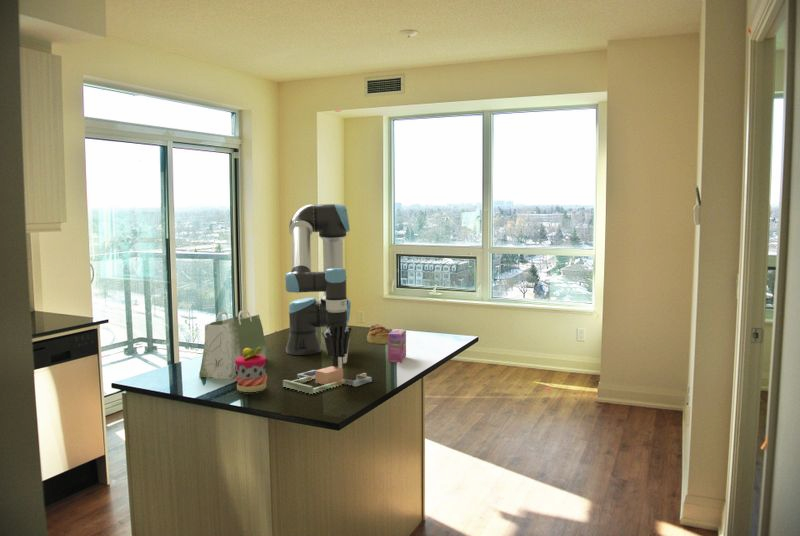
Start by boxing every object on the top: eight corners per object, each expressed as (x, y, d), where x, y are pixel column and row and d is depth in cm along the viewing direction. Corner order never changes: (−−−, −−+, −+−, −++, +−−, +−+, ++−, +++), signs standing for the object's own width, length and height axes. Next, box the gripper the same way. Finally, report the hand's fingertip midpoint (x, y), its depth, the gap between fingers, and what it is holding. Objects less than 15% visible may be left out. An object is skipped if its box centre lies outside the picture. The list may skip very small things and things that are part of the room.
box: (401, 362, 246) (401, 333, 245) (387, 362, 247) (387, 333, 246) (406, 357, 256) (406, 329, 255) (393, 356, 258) (392, 328, 257)
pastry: (375, 337, 300) (375, 321, 299) (401, 340, 292) (400, 323, 291) (359, 342, 289) (358, 325, 289) (384, 345, 281) (384, 328, 280)
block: (315, 383, 219) (315, 370, 218) (331, 378, 225) (331, 366, 225) (327, 385, 215) (326, 373, 215) (343, 380, 221) (343, 368, 221)
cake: (229, 391, 209) (227, 348, 208) (247, 383, 219) (246, 342, 218) (255, 394, 205) (254, 350, 204) (273, 386, 215) (271, 344, 214)
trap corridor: (329, 369, 238) (329, 363, 237) (377, 379, 222) (376, 372, 221) (273, 384, 217) (273, 378, 217) (321, 397, 201) (321, 390, 201)
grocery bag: (237, 358, 259) (235, 303, 257) (268, 359, 257) (266, 304, 254) (197, 377, 228) (194, 316, 226) (231, 379, 225) (229, 317, 223)
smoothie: (337, 365, 244) (336, 330, 243) (331, 361, 250) (331, 327, 249) (352, 363, 247) (351, 328, 246) (346, 359, 253) (345, 326, 252)
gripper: (330, 314, 214) (332, 380, 216) (356, 309, 224) (357, 372, 226) (316, 312, 219) (318, 376, 221) (341, 307, 229) (343, 369, 231)
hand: (338, 374), depth 224 cm, fingers closed
